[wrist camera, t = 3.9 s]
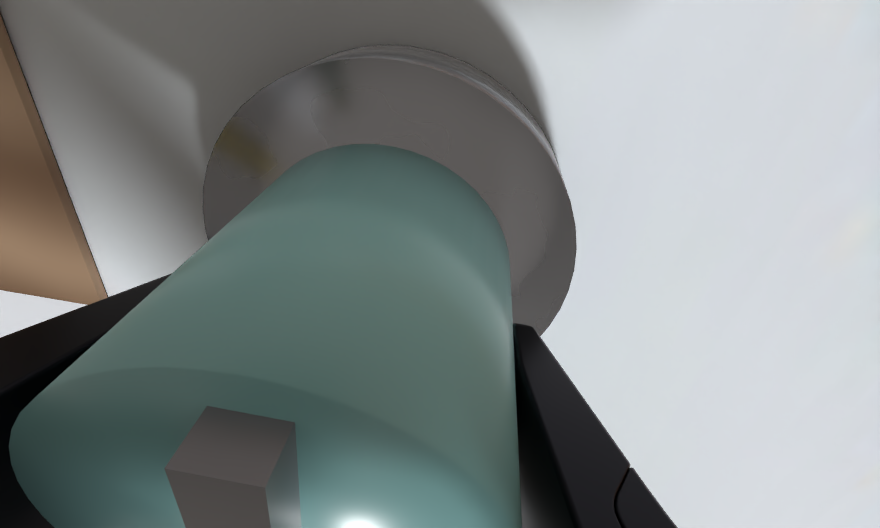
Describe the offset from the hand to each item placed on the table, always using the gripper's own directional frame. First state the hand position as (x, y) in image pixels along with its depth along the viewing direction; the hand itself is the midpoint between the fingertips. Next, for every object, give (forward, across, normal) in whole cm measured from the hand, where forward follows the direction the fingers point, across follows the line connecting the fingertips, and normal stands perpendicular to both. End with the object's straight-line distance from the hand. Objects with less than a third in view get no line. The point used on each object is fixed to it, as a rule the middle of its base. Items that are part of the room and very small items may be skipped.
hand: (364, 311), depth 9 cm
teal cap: (+2, 0, 0) cm, 2 cm away
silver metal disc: (+4, 0, 0) cm, 4 cm away
